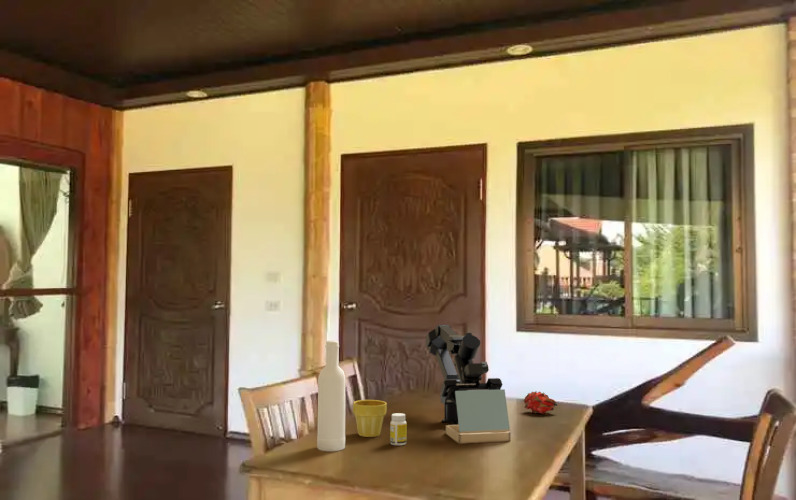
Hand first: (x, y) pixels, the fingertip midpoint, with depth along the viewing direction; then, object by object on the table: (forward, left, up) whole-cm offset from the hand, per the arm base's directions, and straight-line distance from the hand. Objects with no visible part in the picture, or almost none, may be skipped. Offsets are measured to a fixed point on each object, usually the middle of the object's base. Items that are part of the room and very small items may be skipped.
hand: (477, 410), depth 199 cm
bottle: (-22, -39, -8) cm, 46 cm away
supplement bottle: (-12, -22, -8) cm, 27 cm away
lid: (+3, -2, 0) cm, 4 cm away
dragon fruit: (-6, +46, -8) cm, 47 cm away
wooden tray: (0, 0, -8) cm, 8 cm away
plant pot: (-26, -20, -8) cm, 34 cm away
